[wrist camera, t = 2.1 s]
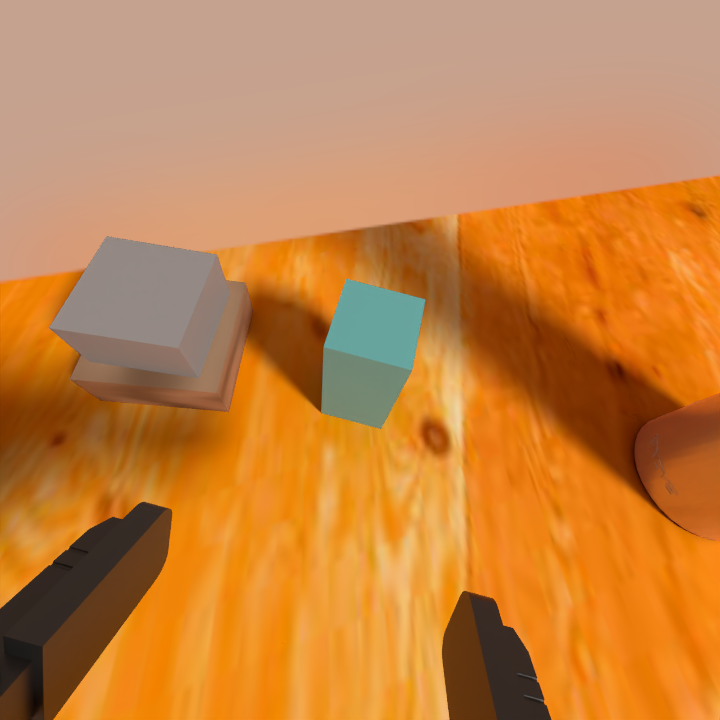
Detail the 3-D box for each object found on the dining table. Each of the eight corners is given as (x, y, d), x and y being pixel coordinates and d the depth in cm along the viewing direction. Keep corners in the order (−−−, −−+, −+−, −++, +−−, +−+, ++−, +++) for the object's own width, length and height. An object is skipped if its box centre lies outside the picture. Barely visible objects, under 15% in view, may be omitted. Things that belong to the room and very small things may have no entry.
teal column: (392, 374, 29) (425, 299, 20) (380, 428, 27) (412, 370, 18) (337, 360, 29) (346, 278, 20) (321, 412, 27) (323, 346, 18)
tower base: (253, 313, 31) (245, 282, 27) (229, 413, 27) (216, 392, 23) (144, 301, 30) (122, 268, 27) (102, 402, 26) (69, 379, 23)
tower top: (230, 293, 27) (216, 254, 23) (198, 378, 24) (178, 348, 20) (134, 278, 27) (106, 236, 23) (89, 361, 23) (48, 327, 20)
